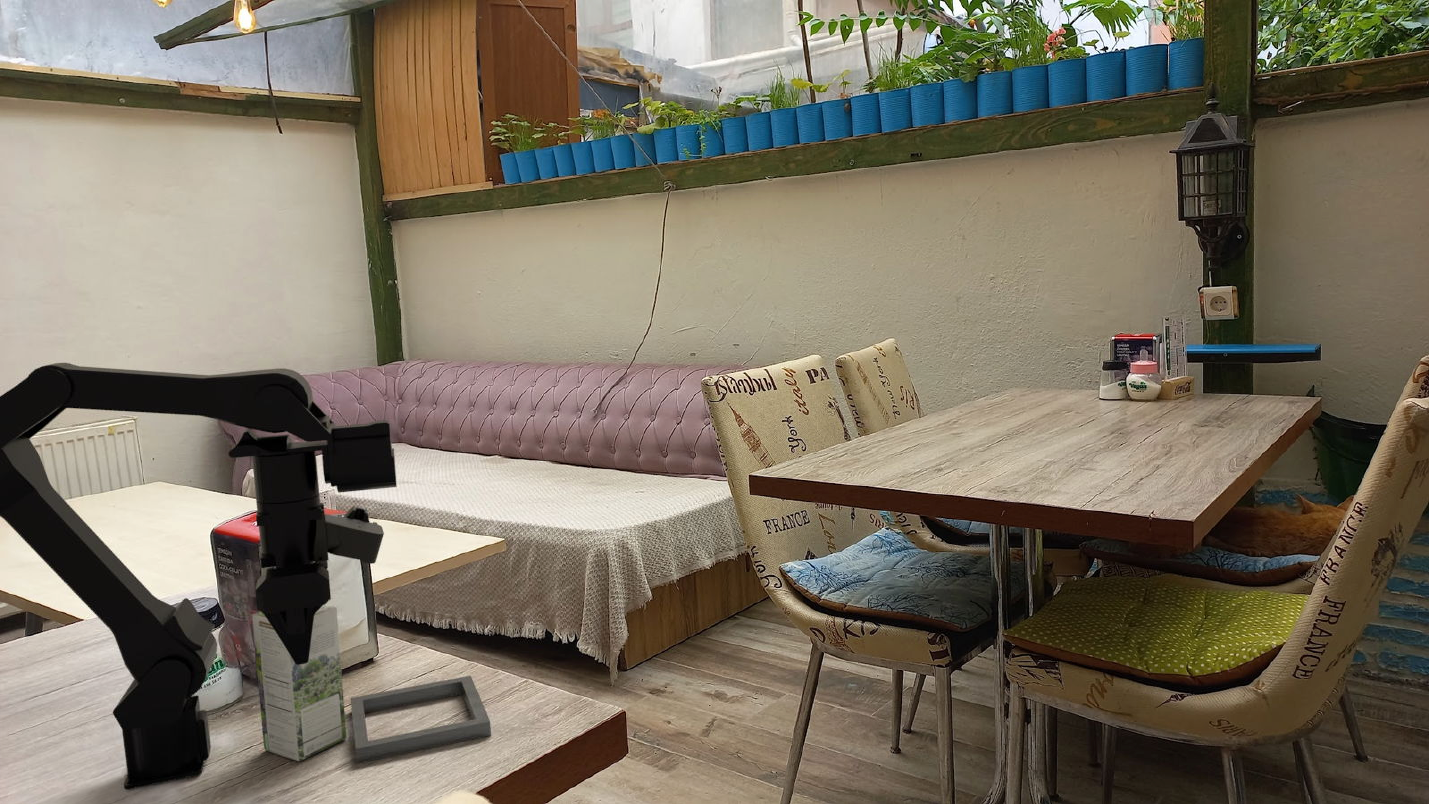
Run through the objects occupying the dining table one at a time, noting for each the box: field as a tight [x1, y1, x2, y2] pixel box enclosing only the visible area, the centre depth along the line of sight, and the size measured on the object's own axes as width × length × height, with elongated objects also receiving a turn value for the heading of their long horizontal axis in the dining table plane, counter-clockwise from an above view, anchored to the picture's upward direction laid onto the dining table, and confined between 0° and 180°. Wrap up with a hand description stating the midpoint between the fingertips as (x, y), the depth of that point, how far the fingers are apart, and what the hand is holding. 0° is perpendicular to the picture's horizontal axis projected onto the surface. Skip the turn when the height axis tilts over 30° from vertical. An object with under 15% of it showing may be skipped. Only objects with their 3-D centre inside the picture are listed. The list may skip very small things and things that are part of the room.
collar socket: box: [350, 675, 492, 764], centre depth 102 cm, size 13×13×2 cm
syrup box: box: [251, 602, 347, 762], centre depth 97 cm, size 6×6×14 cm
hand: (302, 649), depth 97 cm, fingers closed on syrup box, 7 cm apart
